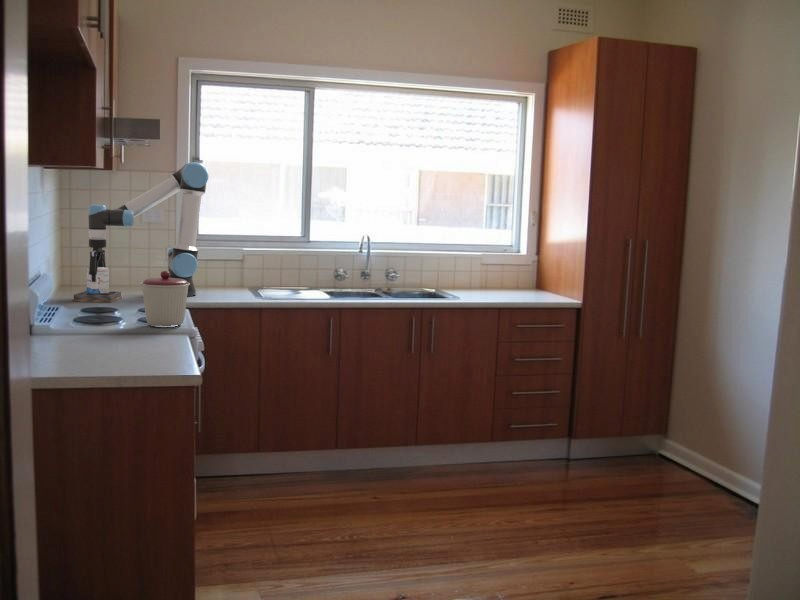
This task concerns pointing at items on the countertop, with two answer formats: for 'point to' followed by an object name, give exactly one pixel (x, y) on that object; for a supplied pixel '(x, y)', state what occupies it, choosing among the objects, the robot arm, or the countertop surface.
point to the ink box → (99, 281)
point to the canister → (165, 300)
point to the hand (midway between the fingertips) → (97, 287)
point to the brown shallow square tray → (97, 297)
